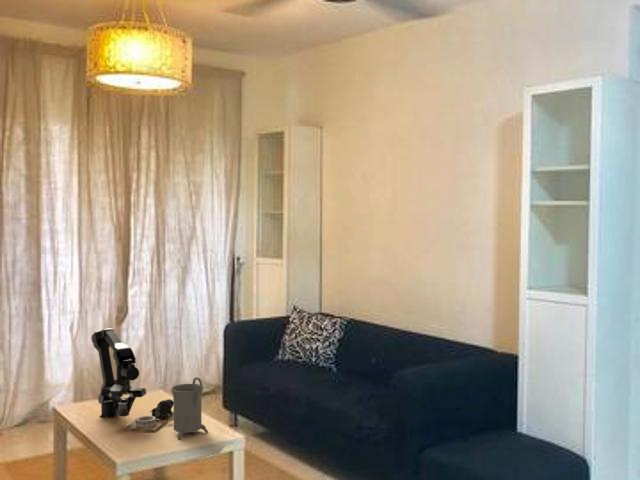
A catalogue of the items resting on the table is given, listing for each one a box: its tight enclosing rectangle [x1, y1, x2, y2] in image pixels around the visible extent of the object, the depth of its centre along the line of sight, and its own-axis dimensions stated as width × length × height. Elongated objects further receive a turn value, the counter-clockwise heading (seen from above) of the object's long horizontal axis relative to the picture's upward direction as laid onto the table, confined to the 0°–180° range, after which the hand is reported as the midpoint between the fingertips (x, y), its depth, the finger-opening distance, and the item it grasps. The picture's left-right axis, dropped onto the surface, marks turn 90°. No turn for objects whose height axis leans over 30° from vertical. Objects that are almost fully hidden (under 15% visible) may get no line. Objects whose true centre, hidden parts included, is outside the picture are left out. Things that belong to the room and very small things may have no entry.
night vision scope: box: [150, 399, 174, 420], centre depth 302 cm, size 8×18×10 cm
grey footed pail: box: [170, 376, 209, 441], centre depth 279 cm, size 19×15×25 cm
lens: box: [117, 397, 130, 418], centre depth 292 cm, size 5×5×7 cm
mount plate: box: [123, 415, 168, 433], centre depth 289 cm, size 14×14×4 cm
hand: (123, 411), depth 292 cm, fingers closed on lens, 5 cm apart
